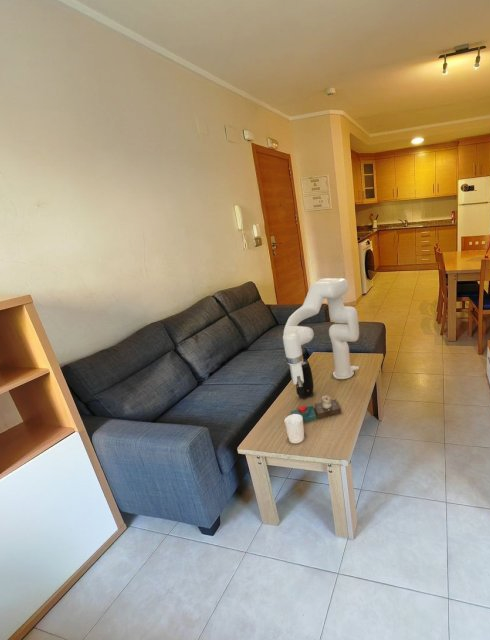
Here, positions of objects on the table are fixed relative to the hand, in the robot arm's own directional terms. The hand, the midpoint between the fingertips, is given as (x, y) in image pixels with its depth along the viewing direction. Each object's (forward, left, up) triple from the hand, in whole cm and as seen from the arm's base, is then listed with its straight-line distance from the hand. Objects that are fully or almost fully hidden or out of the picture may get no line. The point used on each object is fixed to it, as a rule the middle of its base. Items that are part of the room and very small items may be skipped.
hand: (300, 393), depth 161 cm
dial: (-12, 0, -10) cm, 15 cm away
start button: (0, 0, -9) cm, 9 cm away
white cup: (+6, +15, -13) cm, 21 cm away
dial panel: (-12, 0, -13) cm, 17 cm away
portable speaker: (-4, -20, -13) cm, 24 cm away
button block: (0, 0, -13) cm, 13 cm away
